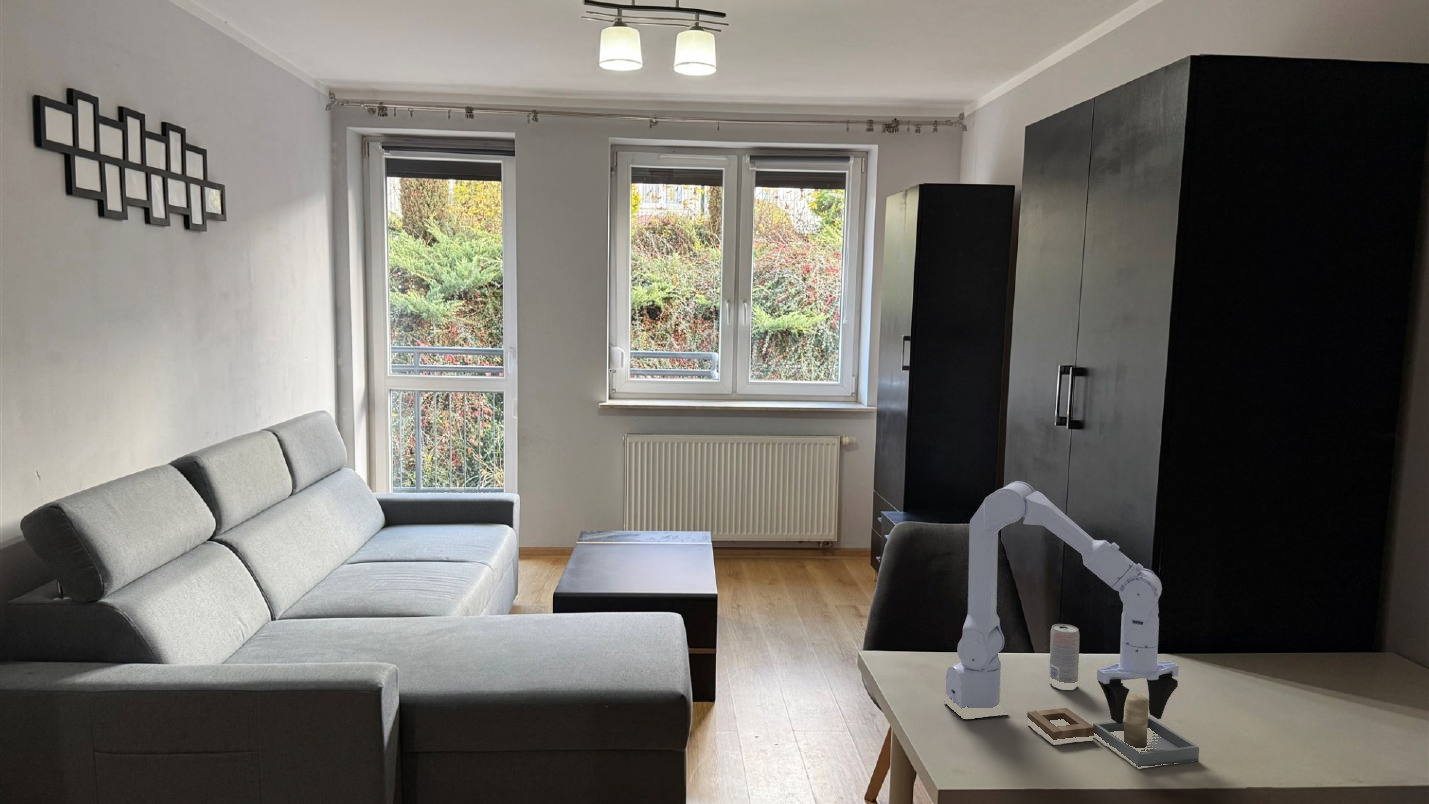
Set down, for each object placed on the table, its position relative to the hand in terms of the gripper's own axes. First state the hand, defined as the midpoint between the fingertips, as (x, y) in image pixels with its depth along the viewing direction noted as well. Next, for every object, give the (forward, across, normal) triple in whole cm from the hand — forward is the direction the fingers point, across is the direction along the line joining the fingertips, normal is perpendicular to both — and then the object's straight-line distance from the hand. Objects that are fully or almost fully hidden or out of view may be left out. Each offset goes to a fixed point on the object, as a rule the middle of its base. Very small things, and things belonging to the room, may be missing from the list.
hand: (1136, 718), depth 151 cm
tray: (+5, +1, -1) cm, 5 cm away
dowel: (+4, 0, 0) cm, 4 cm away
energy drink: (+5, +4, +26) cm, 26 cm away
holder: (+5, -10, +8) cm, 13 cm away
